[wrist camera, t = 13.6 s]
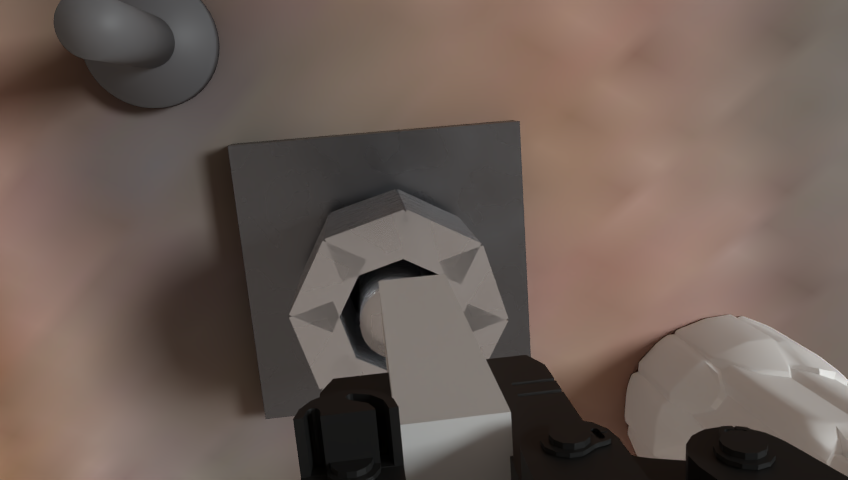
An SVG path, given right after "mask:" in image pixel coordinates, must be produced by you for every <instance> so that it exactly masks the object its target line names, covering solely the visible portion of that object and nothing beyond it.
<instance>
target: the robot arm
mask: <svg viewBox="0 0 848 480" xmlns="http://www.w3.org/2000/svg"><path fill="white" fill-rule="evenodd" d="M378 282H379V292H380V303H381V313H382V324H383V334H384V344H385V355H386V365H387V373H379V374H370V375H361V376H352V377H343V378H334V379H332V381H331V382H330V383H329V384H328V385H327V386H326V387H325V388H324V389H323V390H322V391H321V392H320V397H319V398H316V399H314V400H311V401H310V402H308V403H307V404H306V405H304V406H303V407H302V408H300V409H299V410H298V412H297V414H296V415H295V417H294V419H293V421H294V428H295V436H296V443H297V451H298V458H299V466H300V473H301V480H848V477H847V476H846V475H844V474H842V473H840V472H839V471H837V470H835V469H833V468H832V467H830V466H828V465H826V464H825V463H823V462H821V461H819V460H818V459H816V458H814V457H812V456H811V455H809V454H807V453H805V452H804V451H802V450H800V449H798V448H796V447H795V446H793V445H791V444H789V443H788V442H786V441H784V440H782V439H779V438H777V437H775V436H773V435H770V434H768V433H766V432H761V431H757V430H752V429H750V428H748V427H742V426H735V427H733V426H721V427H716V428H709V429H704V430H702V431H700V432H698V433H696V434H694V435H692V436H691V437H690V439H689V440H688V442H687V444H686V460H670V459H655V458H646V457H638V456H633V455H631V454H630V453H629V451H628V450H627V449H626V447H625V446H624V445H623V443H622V442H621V441H620V439H619V438H618V437H617V436H616V435H614V434H613V433H612V432H611V431H610V430H609V429H607V428H604V427H602V426H600V425H597V424H595V423H592V422H586V421H583V420H582V419H581V417H580V416H579V414H578V413H577V411H576V410H575V408H574V407H573V406H572V404H571V403H570V401H569V400H568V398H567V397H566V395H565V394H564V392H562V391H561V388H560V386H559V385H558V383H557V382H556V381H554V378H553V376H552V375H551V373H550V372H549V370H548V369H547V367H546V366H545V365H544V364H542V363H540V362H539V361H537V360H535V359H533V358H531V357H529V356H527V355H519V356H510V357H501V358H493V359H485V356H484V354H483V352H482V350H481V348H480V346H479V344H478V342H477V340H476V338H475V336H474V333H473V331H472V329H471V327H470V325H469V323H468V321H467V319H466V317H465V315H464V313H463V310H462V308H461V306H460V304H459V302H458V300H457V298H456V296H455V294H454V292H453V290H452V287H451V285H450V283H449V281H448V279H447V277H446V275H445V274H440V275H430V276H421V277H411V278H401V279H391V280H381V281H378Z"/></svg>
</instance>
